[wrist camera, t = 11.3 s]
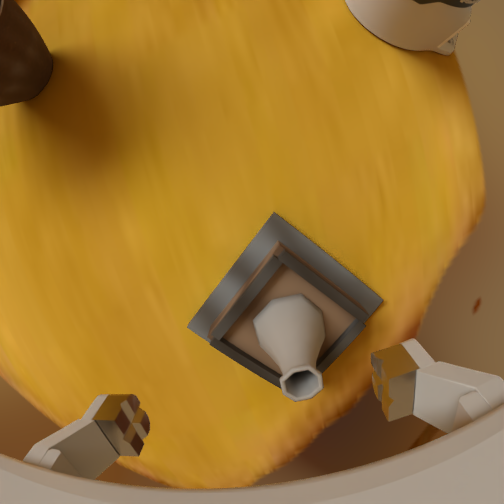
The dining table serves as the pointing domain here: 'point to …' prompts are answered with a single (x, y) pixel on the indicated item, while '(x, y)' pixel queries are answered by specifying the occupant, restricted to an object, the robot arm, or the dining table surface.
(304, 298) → the flask
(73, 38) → the dining table surface
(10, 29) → the plant pot
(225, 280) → the walnut plinth
